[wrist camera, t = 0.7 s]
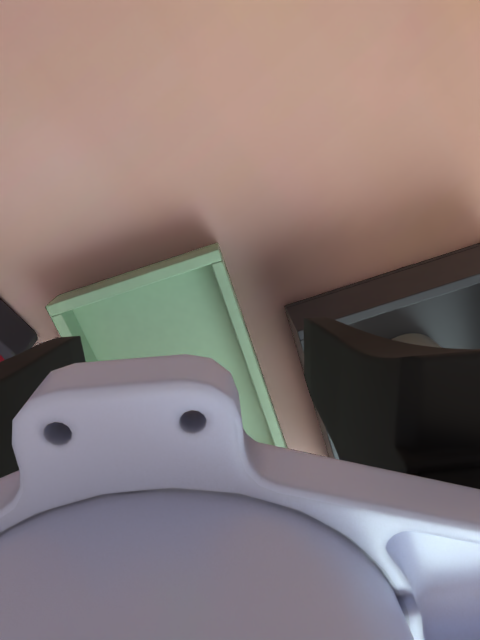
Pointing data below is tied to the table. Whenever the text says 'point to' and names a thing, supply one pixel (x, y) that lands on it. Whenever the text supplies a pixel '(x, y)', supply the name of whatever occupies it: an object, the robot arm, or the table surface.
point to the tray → (173, 325)
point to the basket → (404, 306)
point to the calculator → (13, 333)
